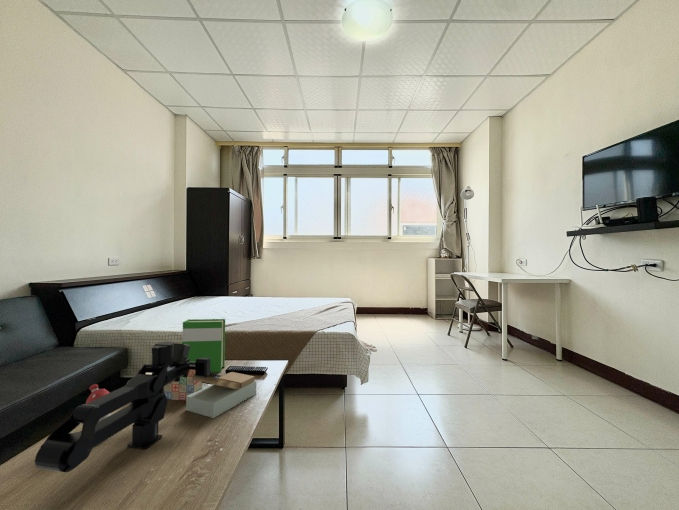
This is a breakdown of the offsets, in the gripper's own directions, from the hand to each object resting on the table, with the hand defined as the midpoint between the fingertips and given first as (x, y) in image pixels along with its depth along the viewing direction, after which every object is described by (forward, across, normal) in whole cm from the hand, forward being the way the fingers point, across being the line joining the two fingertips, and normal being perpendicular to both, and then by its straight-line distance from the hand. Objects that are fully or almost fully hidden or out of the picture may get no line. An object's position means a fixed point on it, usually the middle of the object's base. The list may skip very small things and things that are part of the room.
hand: (198, 359), depth 119 cm
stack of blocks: (+5, +14, +17) cm, 22 cm away
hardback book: (+34, +19, +17) cm, 42 cm away
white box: (+4, -8, +17) cm, 19 cm away
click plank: (0, -7, +9) cm, 11 cm away
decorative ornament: (-25, +16, +17) cm, 34 cm away
